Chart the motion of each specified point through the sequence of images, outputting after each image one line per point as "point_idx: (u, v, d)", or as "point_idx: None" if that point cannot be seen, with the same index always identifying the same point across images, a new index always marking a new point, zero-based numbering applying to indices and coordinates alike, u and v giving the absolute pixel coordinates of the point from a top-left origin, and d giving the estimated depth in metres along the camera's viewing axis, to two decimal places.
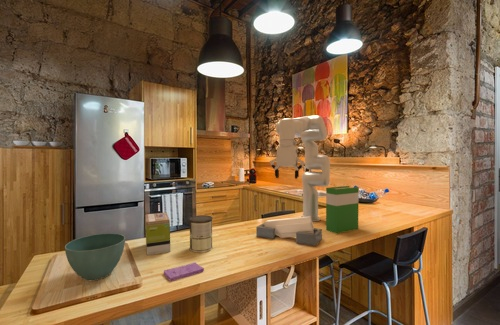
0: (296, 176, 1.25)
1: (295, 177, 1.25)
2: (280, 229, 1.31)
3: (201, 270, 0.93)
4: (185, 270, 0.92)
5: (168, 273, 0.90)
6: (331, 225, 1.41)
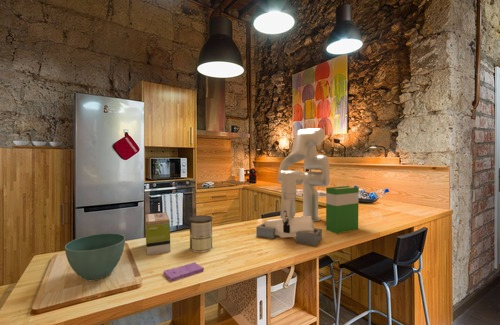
0: None
1: None
2: (280, 229, 1.31)
3: (201, 270, 0.94)
4: (185, 270, 0.92)
5: (168, 273, 0.90)
6: (331, 225, 1.41)
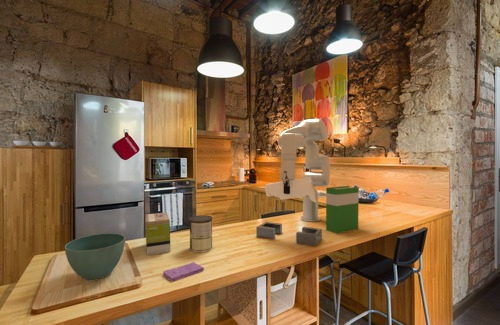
0: None
1: None
2: (281, 191, 1.30)
3: (201, 269, 0.94)
4: (185, 270, 0.92)
5: (168, 273, 0.89)
6: (331, 225, 1.41)
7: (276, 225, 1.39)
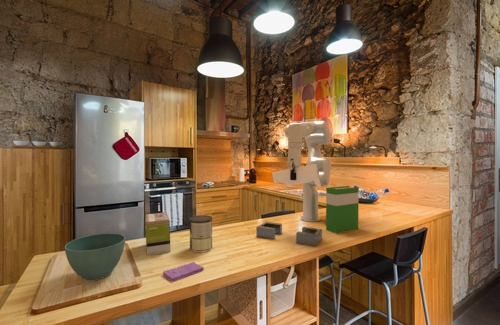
0: None
1: None
2: (287, 177, 1.39)
3: (201, 269, 0.94)
4: (185, 270, 0.92)
5: (169, 274, 0.89)
6: (331, 225, 1.41)
7: (276, 225, 1.39)
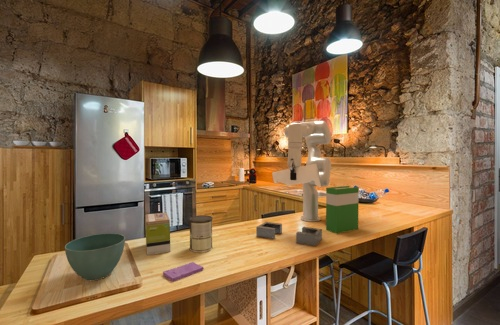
0: None
1: None
2: (287, 177, 1.39)
3: (201, 269, 0.94)
4: (185, 270, 0.92)
5: (169, 274, 0.89)
6: (331, 225, 1.41)
7: (276, 225, 1.39)
